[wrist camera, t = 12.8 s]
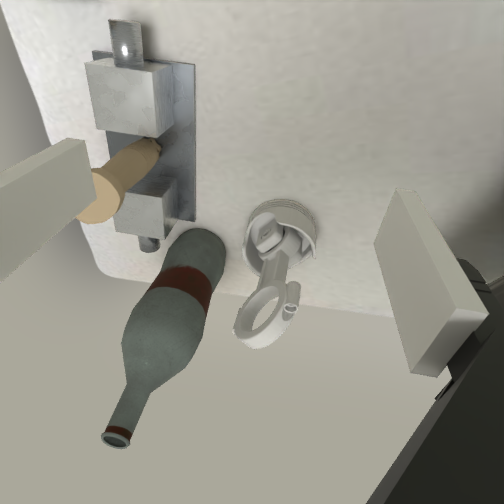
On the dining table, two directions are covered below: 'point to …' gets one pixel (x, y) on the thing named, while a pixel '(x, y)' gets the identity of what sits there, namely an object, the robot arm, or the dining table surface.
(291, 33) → the dining table surface
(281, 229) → the engine component
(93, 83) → the shaft bed
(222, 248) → the bottle
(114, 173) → the handle
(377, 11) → the dining table surface
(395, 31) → the dining table surface
